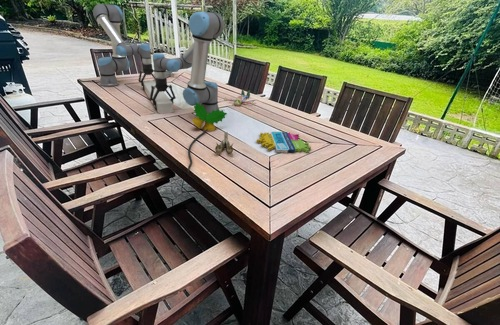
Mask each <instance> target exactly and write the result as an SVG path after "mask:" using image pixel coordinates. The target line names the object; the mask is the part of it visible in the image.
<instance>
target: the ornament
mask: <svg viewBox="0 0 500 325" xmlns="http://www.w3.org/2000/svg"><path fill="white" fill-rule="evenodd" d="M219 110H220V108H219V109H217V110H216V111H214V110H212V112H211V113H208V112H206V109H204V106H201V104H198V103H197V102H196V105H195V106H193V112H194V113H195V118H192V119H191V122H192V123H193V125H195V127H197V128H198V129H202V130H203V131H205V130H207V131H206V132H212V131H213V132H214V131H215V130H216V126H215V124H218V123H219V122H223V119H226V115H227V114H228V113H227V112H224V110H223V109H221V110H220V111H219ZM207 113H208V115H207ZM214 123H215V124H214Z"/></svg>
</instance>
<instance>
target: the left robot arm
mask: <svg viewBox="0 0 500 325" xmlns="http://www.w3.org/2000/svg"><path fill="white" fill-rule="evenodd" d="M92 15H93V18H94V20H95V21H96V23H97V24H99V25H100V26H101V27H102V29H103V30H104V32H105V33H106V34H107V36H108V37H109V39H110V43H111V49H112V55H111V56H102V57H100V58H98V59H97V65H98V69H99V74H100V81H96V80H81V79H80V78H78V80H77V81H78V82H79V81H80V82H82V83H86V82H87V83H89V82H90V83H91V82H92V83H96V84H98V83H99V85H100V86H101V87H115V86H119V83H120V82H119V81H118V78H117V77H116V75H115V74H116V73H119V72H126V71H128V70H129V68H130V66H131V64H130V60H129V59H128V56H129V57H130V56H141V61H142V62H141V63H142V69H139V75H138V83H140V85H141V87H142V90H143V91H144V83H143V81H145V78H146V76H152V78H153V80H154V79H155V78H156V77H155V74H153V73H154V72H153V71H154V68H153V59H152V52H151V45H150V44H149V43H140V44H139V45H138V44H131V45H127V44H126V42H125V41H124V39H123V38H122V34H121V26H120V25H121V23H122V21H123V19H124V13H123V10H122V9H121V7H119V6H118V5H116V4H109V3H98V4H96V5H95V6H94V7H93V9H92ZM142 75H143V76H142Z"/></svg>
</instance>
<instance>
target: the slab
mask: <svg viewBox="0 0 500 325" xmlns="http://www.w3.org/2000/svg"><path fill="white" fill-rule="evenodd" d="M143 83H144V90H143V91H144V92H145V94H146V96H147V97H148V98H149V100H150V94H151V86H155V85H156V82H155V80H154V79H153V80H143ZM156 91H157V88H155V89H154V93H153V97H154V95H155V93H156ZM153 97H152V99H153ZM170 99H171V98H170V97H168V94H167V93H165V92H163V91H162V92H159V93H158V95H157V97H156V99H155V101H156V106H157V110H156V112H157V113H158V114H168V113H170V114H171V113H174V102H173V103H172V101H171V100H170ZM150 102H151V103H152V104H153V101H152V100H150ZM153 107H154V108H155V105H153Z"/></svg>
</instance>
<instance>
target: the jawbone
mask: <svg viewBox="0 0 500 325" xmlns="http://www.w3.org/2000/svg"><path fill="white" fill-rule="evenodd" d="M223 135H224V136H223V140H222V139H221V142H220V144H218V142H215V144H216V146H215V148H214V149H215V152H214V154H215V155H217V156H218V155H220V153H221V152H223V151H224V150H226V152H227V153H228V155H229V156H233V155H234V154H233V153H234V148H233V144H234V143H230V140H228V139H229V138H228V137H229V136H228V135H229V133H228V131H226V132H224V134H223Z"/></svg>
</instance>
